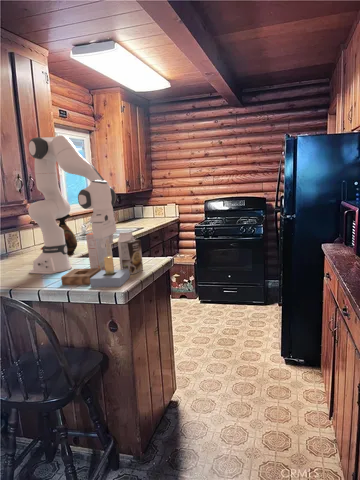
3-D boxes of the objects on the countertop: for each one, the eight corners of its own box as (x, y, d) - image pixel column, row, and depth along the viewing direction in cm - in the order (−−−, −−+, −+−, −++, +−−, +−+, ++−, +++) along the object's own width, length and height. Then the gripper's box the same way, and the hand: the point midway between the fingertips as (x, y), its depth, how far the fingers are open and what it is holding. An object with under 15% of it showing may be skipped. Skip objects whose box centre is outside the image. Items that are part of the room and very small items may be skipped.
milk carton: (133, 269, 185) (129, 233, 181) (120, 269, 186) (116, 234, 183) (137, 265, 192) (134, 231, 188) (125, 265, 193) (121, 231, 190)
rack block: (62, 285, 165) (61, 276, 164) (75, 276, 178) (74, 268, 177) (90, 284, 162) (89, 276, 162) (101, 275, 176) (100, 268, 175)
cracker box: (104, 266, 196) (100, 229, 192) (114, 266, 194) (110, 229, 190) (90, 273, 183) (85, 233, 179) (99, 273, 181) (95, 233, 177)
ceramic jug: (76, 251, 245) (71, 208, 240) (79, 254, 231) (74, 209, 226) (51, 254, 238) (45, 210, 233) (52, 258, 224) (46, 212, 219)
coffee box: (132, 274, 174) (129, 243, 171) (122, 273, 177) (119, 242, 174) (143, 270, 182) (141, 239, 179) (134, 268, 185) (131, 239, 182)
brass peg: (105, 283, 162) (102, 258, 160) (108, 280, 166) (105, 256, 164) (113, 283, 162) (110, 258, 159) (116, 280, 166) (113, 256, 163)
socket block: (90, 287, 158) (89, 278, 157) (102, 278, 172) (101, 270, 171) (120, 286, 156) (119, 277, 155) (129, 277, 170) (128, 269, 169)
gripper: (105, 213, 169) (108, 241, 171) (88, 219, 149) (92, 250, 151) (117, 212, 168) (121, 241, 170) (102, 218, 148) (106, 250, 150)
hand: (107, 245), depth 161 cm, fingers open, 8 cm apart
